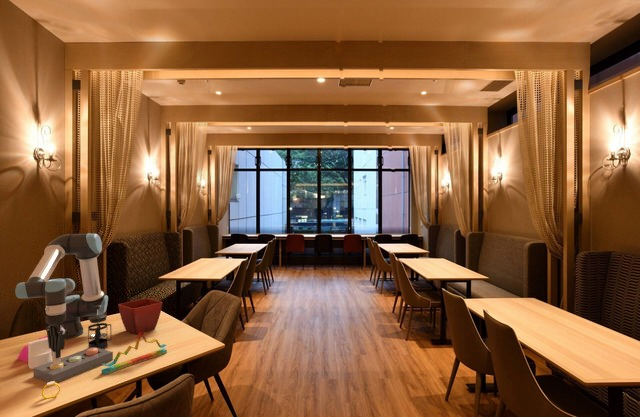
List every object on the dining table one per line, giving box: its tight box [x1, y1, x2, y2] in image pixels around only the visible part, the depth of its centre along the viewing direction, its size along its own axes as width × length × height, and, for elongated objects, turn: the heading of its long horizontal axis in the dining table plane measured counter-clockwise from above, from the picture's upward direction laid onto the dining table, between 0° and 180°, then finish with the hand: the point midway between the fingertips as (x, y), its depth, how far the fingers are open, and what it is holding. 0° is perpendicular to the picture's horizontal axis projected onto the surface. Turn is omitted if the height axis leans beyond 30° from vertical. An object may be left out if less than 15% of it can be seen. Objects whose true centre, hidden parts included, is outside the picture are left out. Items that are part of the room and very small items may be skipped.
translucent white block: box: [27, 337, 52, 370], centre depth 175 cm, size 9×9×12 cm
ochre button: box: [50, 362, 64, 370], centre depth 164 cm, size 5×5×3 cm
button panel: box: [32, 347, 114, 384], centre depth 171 cm, size 16×27×4 cm, turn 154°
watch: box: [41, 381, 61, 400], centre depth 145 cm, size 6×3×6 cm, turn 120°
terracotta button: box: [85, 348, 98, 357], centre depth 178 cm, size 5×5×3 cm
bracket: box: [17, 335, 52, 363], centre depth 184 cm, size 12×10×10 cm
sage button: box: [69, 356, 81, 363], centre depth 171 cm, size 5×5×3 cm
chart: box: [101, 331, 168, 376], centre depth 176 cm, size 30×3×15 cm, turn 143°
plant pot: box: [118, 297, 163, 335], centre depth 224 cm, size 19×19×17 cm
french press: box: [87, 305, 112, 350], centre depth 196 cm, size 12×9×23 cm
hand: (56, 364), depth 164 cm, fingers closed
